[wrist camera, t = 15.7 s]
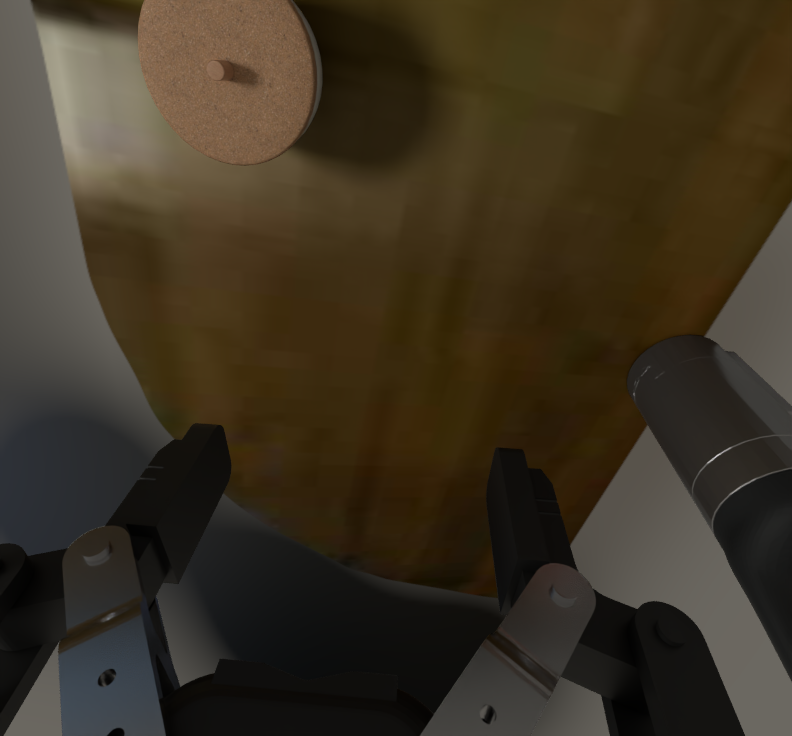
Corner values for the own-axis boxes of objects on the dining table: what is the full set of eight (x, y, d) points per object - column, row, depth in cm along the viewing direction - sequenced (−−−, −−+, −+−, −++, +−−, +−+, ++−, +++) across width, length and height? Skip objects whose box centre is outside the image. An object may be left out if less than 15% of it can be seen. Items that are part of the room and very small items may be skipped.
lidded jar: (308, 173, 38) (275, 200, 30) (180, 107, 36) (110, 118, 28) (359, 28, 32) (336, 16, 24) (211, -60, 30) (135, -105, 22)
